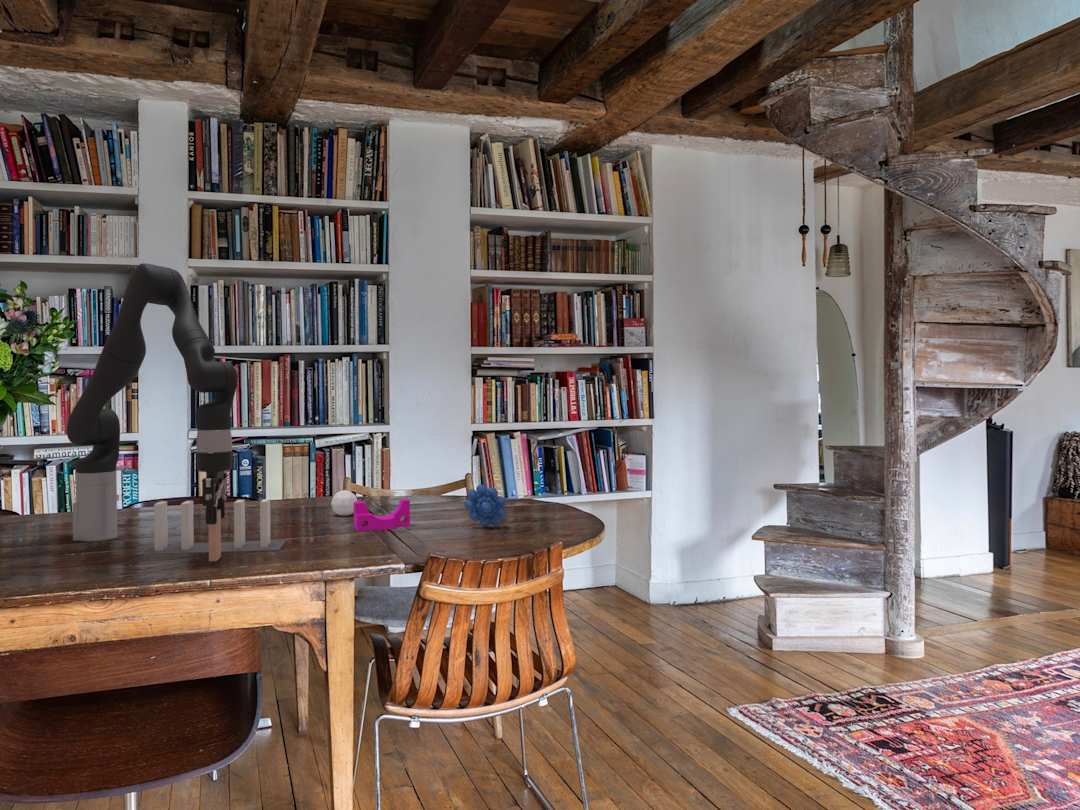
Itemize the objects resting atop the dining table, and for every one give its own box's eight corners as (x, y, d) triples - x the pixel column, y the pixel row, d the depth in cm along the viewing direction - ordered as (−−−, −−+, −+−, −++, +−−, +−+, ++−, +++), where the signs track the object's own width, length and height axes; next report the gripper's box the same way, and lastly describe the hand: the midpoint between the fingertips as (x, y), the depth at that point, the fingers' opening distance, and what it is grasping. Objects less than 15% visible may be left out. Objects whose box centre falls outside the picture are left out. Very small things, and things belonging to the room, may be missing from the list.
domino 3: (208, 561, 184) (208, 512, 183) (213, 557, 188) (213, 509, 188) (216, 561, 184) (215, 512, 184) (221, 557, 189) (220, 509, 188)
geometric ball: (345, 519, 242) (345, 492, 242) (325, 517, 246) (325, 490, 246) (363, 515, 249) (363, 489, 249) (343, 513, 253) (343, 487, 253)
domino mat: (135, 555, 190) (135, 554, 190) (150, 545, 202) (150, 544, 202) (279, 551, 195) (279, 549, 195) (285, 541, 207) (285, 540, 207)
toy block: (357, 532, 222) (356, 504, 222) (353, 528, 228) (353, 501, 228) (411, 528, 228) (411, 501, 228) (407, 524, 234) (407, 498, 233)
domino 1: (154, 550, 194) (154, 504, 194) (160, 546, 199) (160, 501, 198) (161, 550, 194) (161, 504, 194) (167, 546, 199) (167, 501, 199)
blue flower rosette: (465, 530, 224) (465, 486, 223) (464, 526, 230) (464, 483, 230) (507, 529, 225) (507, 485, 225) (505, 525, 232) (505, 483, 231)
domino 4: (234, 548, 197) (234, 502, 197) (238, 544, 202) (238, 499, 202) (241, 548, 197) (241, 502, 197) (245, 544, 202) (244, 499, 202)
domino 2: (181, 549, 195) (180, 503, 195) (186, 545, 200) (186, 500, 200) (188, 549, 195) (188, 503, 195) (193, 545, 200) (193, 500, 200)
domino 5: (260, 547, 198) (260, 502, 198) (263, 543, 203) (263, 499, 203) (267, 547, 198) (267, 501, 198) (270, 543, 203) (270, 498, 203)
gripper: (204, 447, 192) (205, 517, 192) (189, 452, 178) (190, 526, 178) (237, 447, 193) (239, 515, 194) (225, 451, 179) (226, 525, 180)
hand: (215, 521), depth 186 cm, fingers open, 8 cm apart
